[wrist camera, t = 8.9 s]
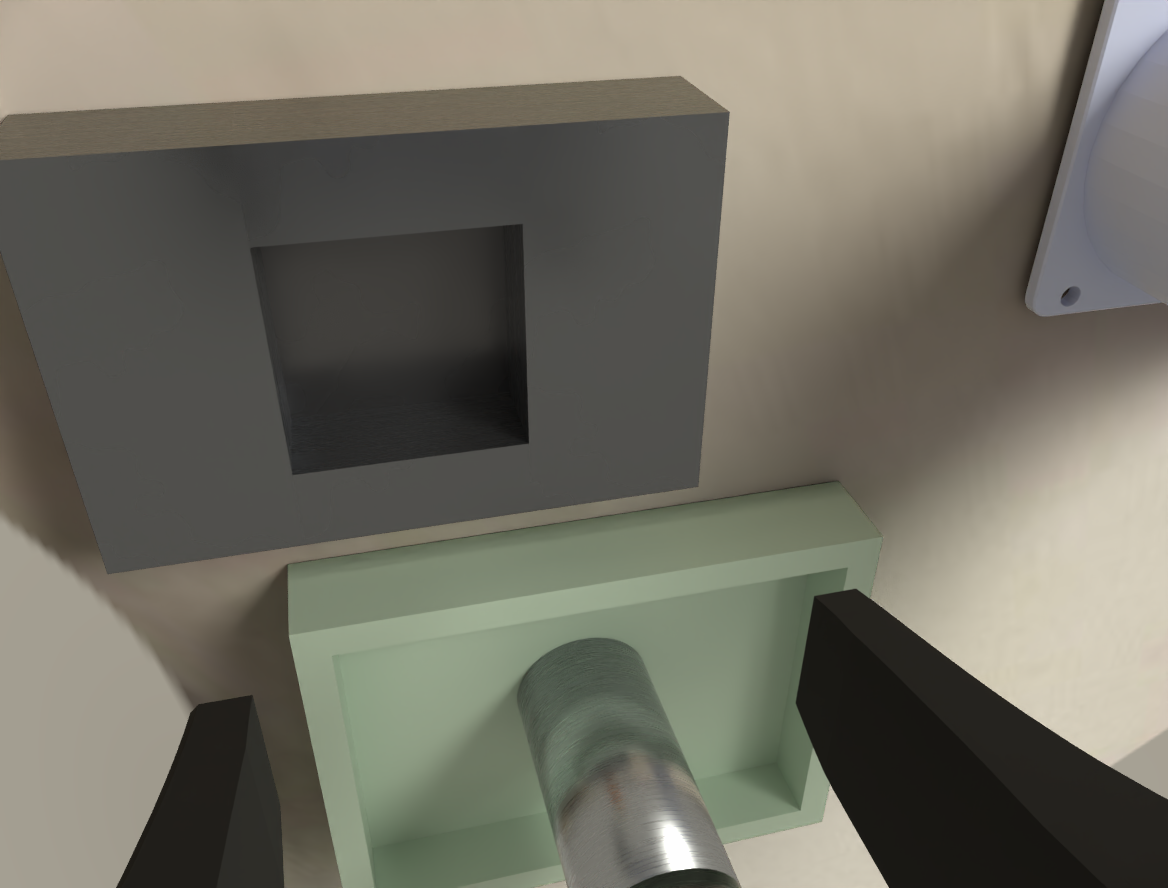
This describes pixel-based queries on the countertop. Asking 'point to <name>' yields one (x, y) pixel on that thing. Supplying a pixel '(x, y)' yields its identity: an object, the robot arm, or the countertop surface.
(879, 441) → the countertop surface
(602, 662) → the pin
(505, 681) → the tray
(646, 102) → the hitch block
